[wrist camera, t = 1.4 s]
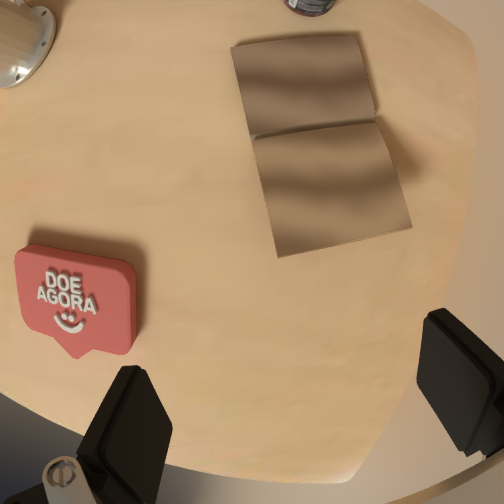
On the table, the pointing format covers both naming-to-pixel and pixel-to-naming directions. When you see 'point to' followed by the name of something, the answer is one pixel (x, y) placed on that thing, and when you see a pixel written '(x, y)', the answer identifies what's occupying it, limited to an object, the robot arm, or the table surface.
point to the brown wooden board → (302, 85)
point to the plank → (329, 187)
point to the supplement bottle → (310, 6)
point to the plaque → (78, 299)
